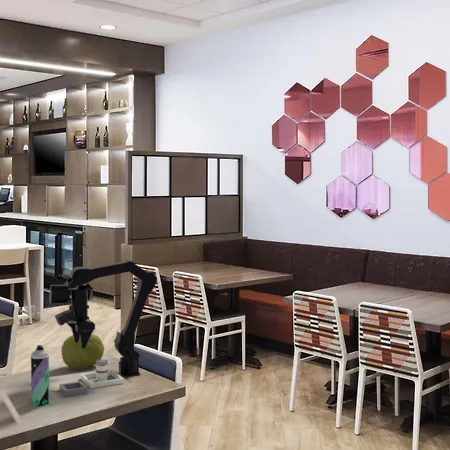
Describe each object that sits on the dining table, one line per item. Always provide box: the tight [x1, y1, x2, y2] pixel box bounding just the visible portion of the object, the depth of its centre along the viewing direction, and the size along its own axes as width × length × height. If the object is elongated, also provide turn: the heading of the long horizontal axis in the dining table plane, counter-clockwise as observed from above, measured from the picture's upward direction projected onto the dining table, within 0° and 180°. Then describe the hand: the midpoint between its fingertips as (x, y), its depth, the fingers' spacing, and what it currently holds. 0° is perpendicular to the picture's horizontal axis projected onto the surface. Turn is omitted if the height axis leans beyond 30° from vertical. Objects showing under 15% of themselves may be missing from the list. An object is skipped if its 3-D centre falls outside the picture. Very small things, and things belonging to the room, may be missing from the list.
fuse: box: [95, 358, 109, 382], centre depth 230 cm, size 4×4×8 cm
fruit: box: [60, 333, 105, 370], centre depth 251 cm, size 16×14×15 cm
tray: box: [80, 369, 125, 389], centre depth 230 cm, size 12×12×3 cm
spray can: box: [30, 344, 51, 407], centre depth 207 cm, size 6×6×20 cm
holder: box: [51, 380, 96, 400], centre depth 218 cm, size 12×10×4 cm
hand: (79, 345), depth 236 cm, fingers open, 9 cm apart
